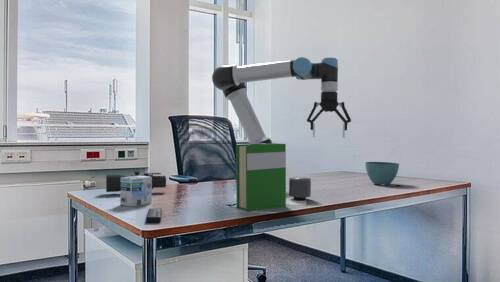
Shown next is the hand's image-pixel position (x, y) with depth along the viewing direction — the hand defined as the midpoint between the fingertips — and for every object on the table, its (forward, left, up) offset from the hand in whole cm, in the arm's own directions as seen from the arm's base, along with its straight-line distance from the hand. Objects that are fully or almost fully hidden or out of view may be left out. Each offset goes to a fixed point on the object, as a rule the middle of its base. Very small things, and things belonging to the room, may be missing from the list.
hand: (328, 137), depth 189 cm
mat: (-16, -24, -27) cm, 39 cm away
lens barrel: (-13, -19, -26) cm, 35 cm away
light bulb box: (-76, -41, -27) cm, 90 cm away
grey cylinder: (-13, -19, -25) cm, 34 cm away
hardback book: (-27, -39, -27) cm, 55 cm away
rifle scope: (-87, -15, -27) cm, 92 cm away
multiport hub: (-60, -64, -27) cm, 92 cm away
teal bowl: (+33, +46, -27) cm, 63 cm away
